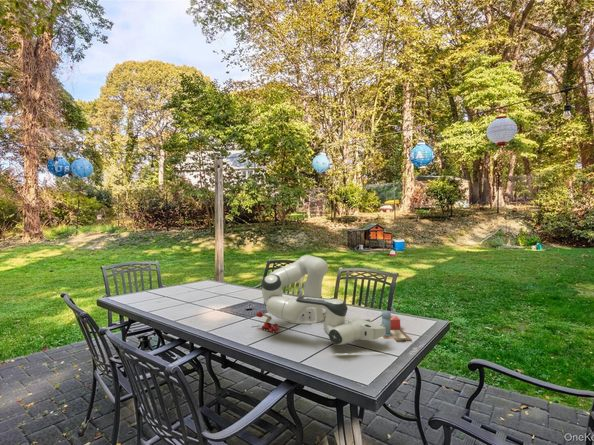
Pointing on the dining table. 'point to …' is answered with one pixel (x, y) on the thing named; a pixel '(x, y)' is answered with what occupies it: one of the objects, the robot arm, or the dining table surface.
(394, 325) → the red die
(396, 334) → the game track
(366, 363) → the dining table surface
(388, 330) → the pawn
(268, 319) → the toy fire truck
